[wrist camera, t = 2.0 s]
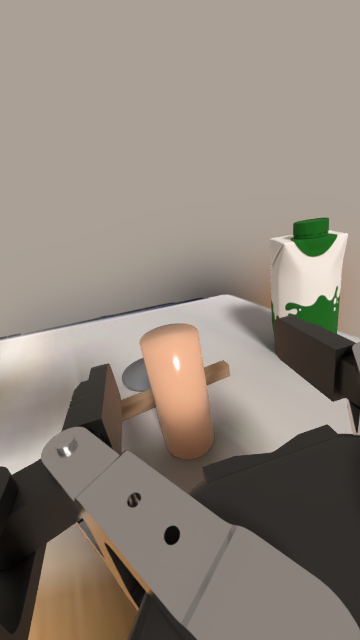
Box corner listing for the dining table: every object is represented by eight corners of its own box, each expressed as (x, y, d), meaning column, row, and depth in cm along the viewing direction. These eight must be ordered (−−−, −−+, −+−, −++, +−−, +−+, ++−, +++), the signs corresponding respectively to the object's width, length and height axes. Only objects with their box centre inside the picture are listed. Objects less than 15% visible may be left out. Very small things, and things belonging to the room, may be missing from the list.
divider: (96, 431, 31) (91, 419, 31) (95, 423, 33) (90, 412, 32) (229, 375, 37) (228, 364, 37) (224, 371, 39) (223, 360, 38)
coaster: (111, 389, 39) (110, 387, 39) (138, 355, 48) (138, 354, 48) (169, 393, 36) (168, 391, 36) (187, 356, 45) (187, 354, 44)
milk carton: (281, 366, 37) (279, 227, 30) (268, 338, 46) (264, 224, 38) (344, 361, 36) (358, 214, 28) (319, 333, 44) (324, 214, 37)
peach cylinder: (158, 455, 27) (129, 351, 22) (174, 416, 32) (153, 324, 27) (209, 463, 25) (189, 351, 20) (218, 420, 30) (203, 322, 25)
